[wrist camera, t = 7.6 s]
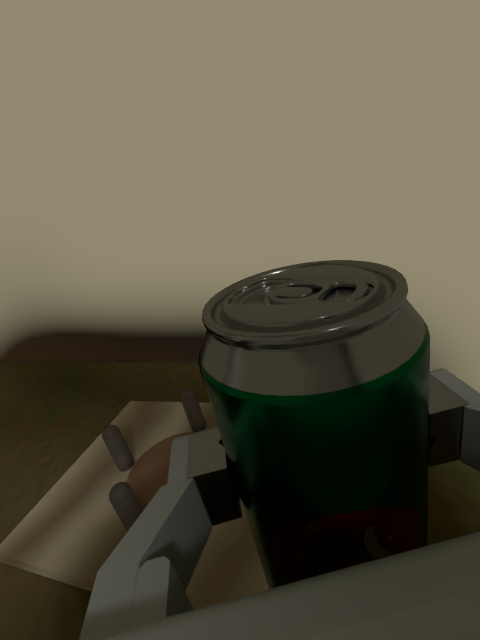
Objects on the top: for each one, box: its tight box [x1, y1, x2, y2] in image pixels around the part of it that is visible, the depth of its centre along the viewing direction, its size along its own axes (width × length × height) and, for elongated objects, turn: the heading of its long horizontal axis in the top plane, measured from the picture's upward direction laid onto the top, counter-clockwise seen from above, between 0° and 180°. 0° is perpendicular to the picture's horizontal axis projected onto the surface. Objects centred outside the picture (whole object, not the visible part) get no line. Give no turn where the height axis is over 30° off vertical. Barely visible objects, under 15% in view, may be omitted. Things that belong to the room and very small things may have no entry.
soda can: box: [198, 260, 430, 589], centre depth 9 cm, size 5×5×12 cm
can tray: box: [0, 388, 269, 610], centre depth 21 cm, size 18×14×5 cm
